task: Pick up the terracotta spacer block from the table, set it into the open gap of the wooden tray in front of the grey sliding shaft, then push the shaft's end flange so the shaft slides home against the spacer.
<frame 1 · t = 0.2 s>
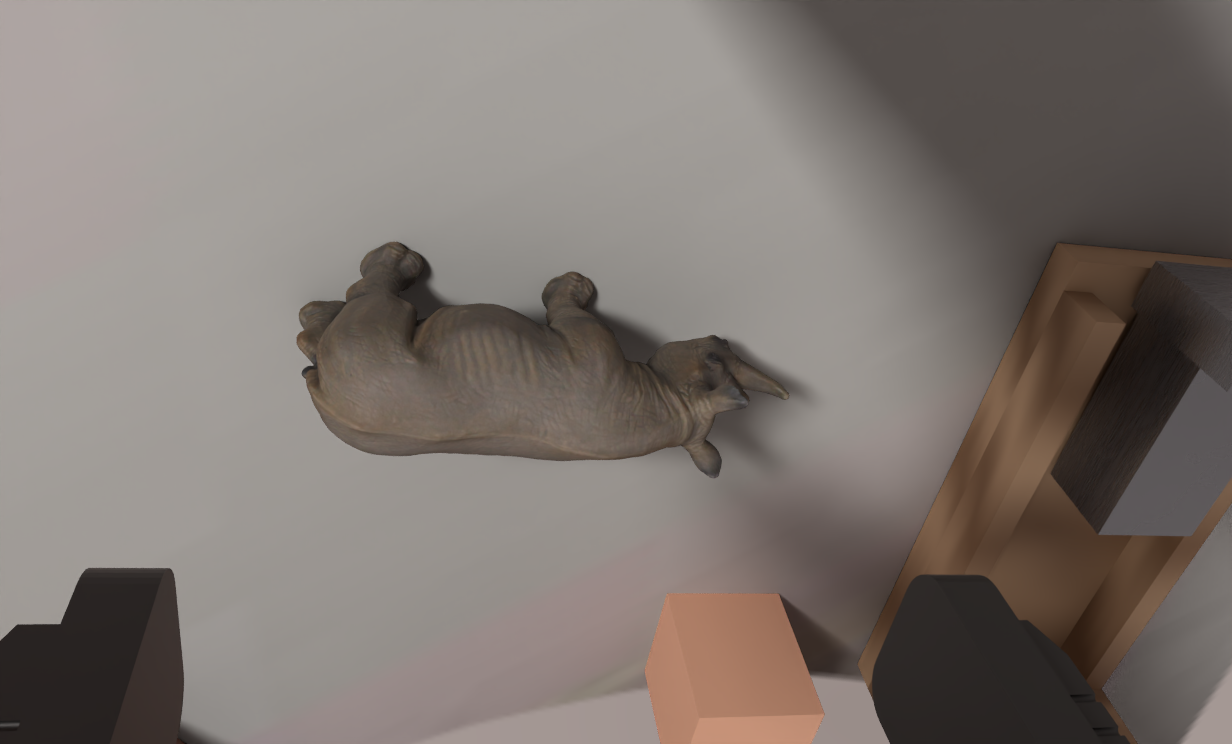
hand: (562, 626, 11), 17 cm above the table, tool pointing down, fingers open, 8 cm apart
spacer: (710, 632, 38), on the table
wooden tray: (1049, 489, 37), on the table
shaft: (1194, 420, 30), point 4 cm above the table, slide at 0.0 cm
rhino figurine: (542, 315, 29), on the table
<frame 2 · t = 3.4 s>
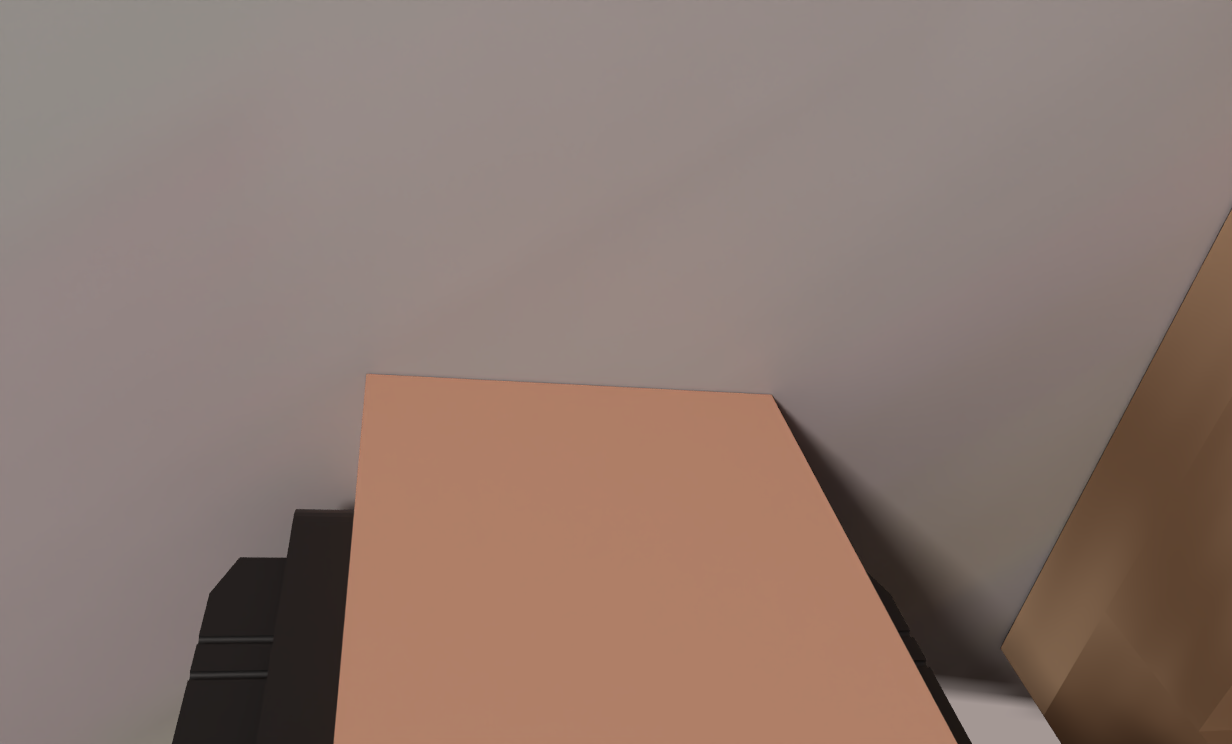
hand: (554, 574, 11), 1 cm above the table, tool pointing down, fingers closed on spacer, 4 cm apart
spacer: (551, 539, 12), on the table, touching gripper
when the fingers open (4 cm above the table, at t = 7.7 s): spacer drops 2 cm, resting on wooden tray.
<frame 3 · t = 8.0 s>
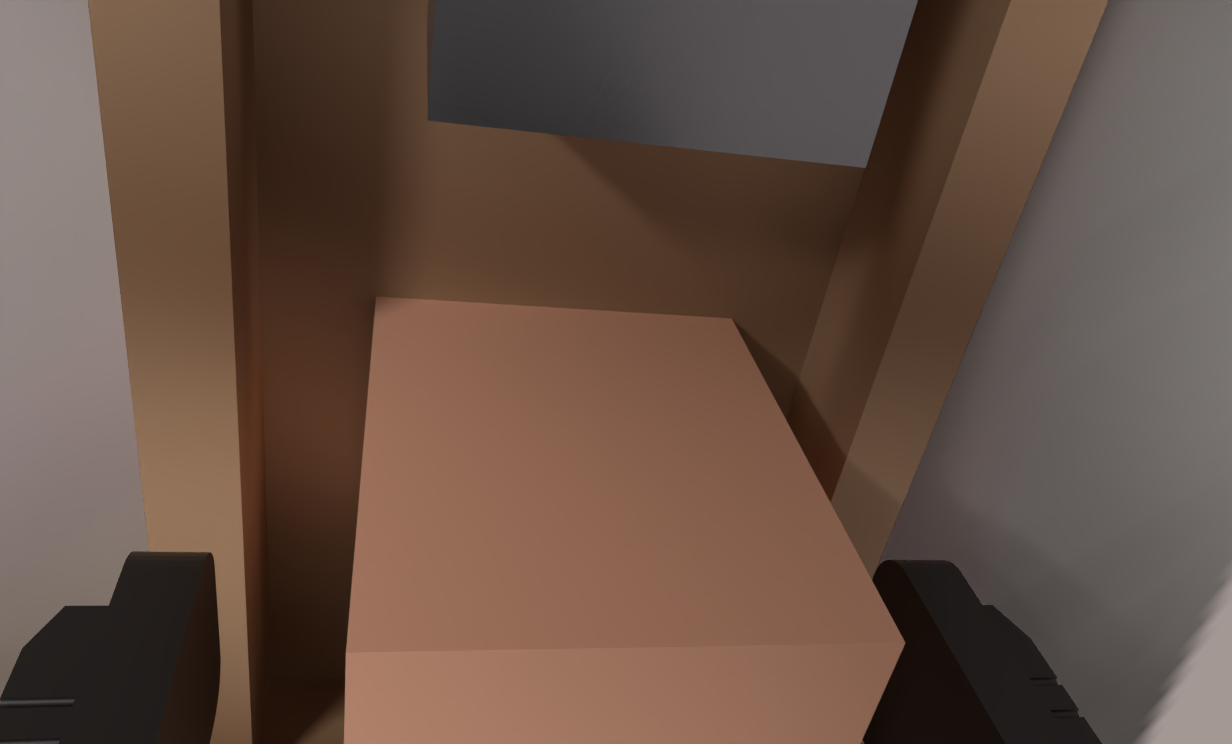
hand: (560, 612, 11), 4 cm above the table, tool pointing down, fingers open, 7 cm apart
spacer: (539, 451, 13), point 1 cm above the table, touching wooden tray
wooden tray: (558, 174, 12), on the table
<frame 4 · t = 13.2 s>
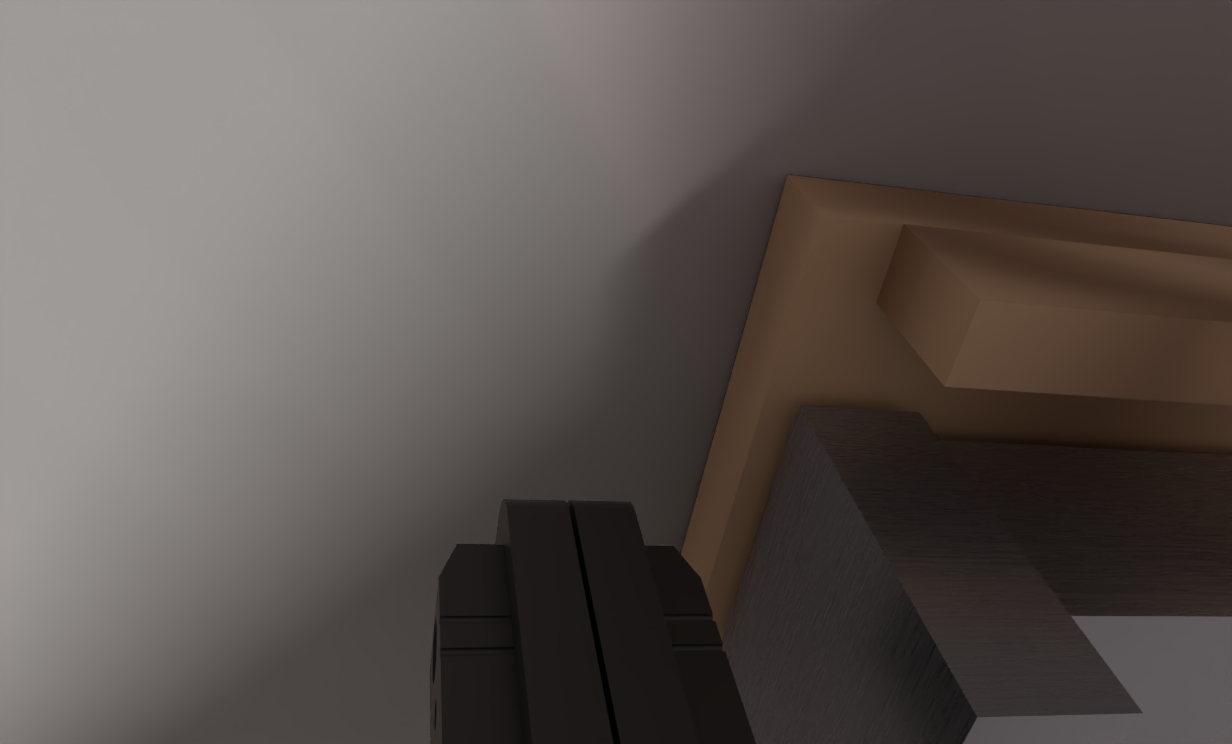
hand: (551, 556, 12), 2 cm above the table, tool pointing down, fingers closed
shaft: (1128, 676, 12), point 4 cm above the table, slide at 0.7 cm, touching gripper
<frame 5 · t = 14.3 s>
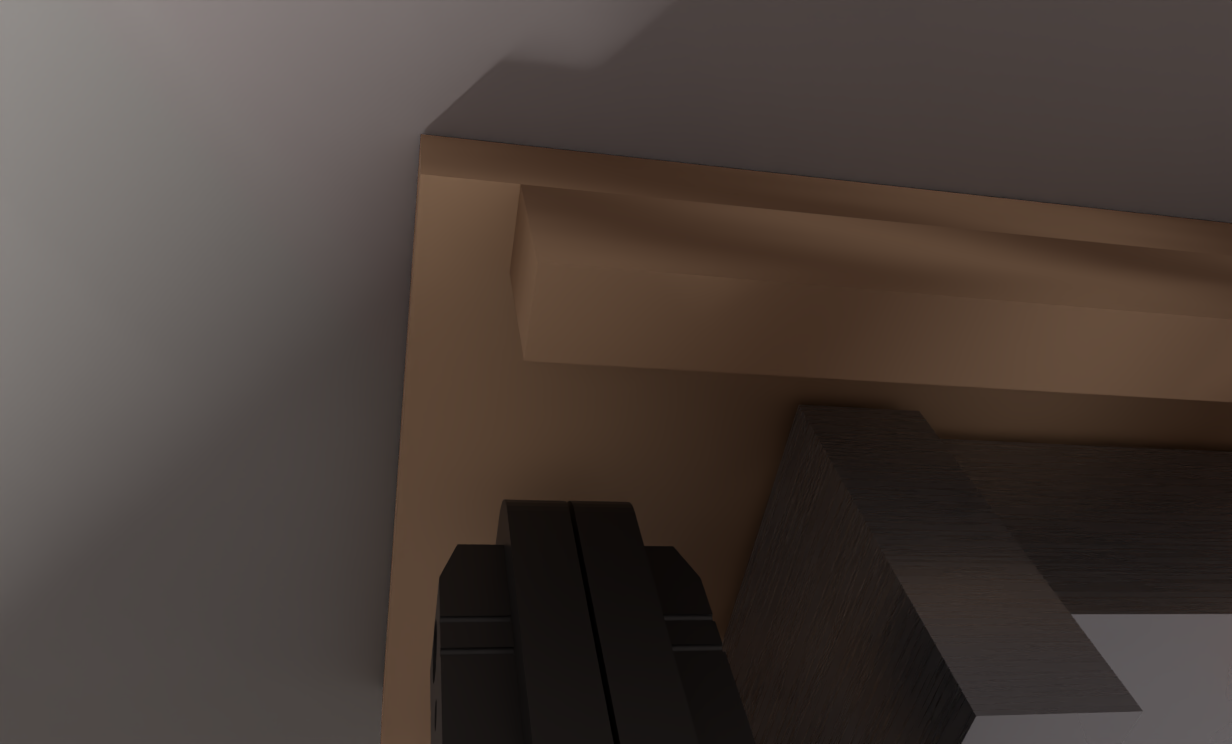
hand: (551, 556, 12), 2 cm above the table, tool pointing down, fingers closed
wooden tray: (1051, 483, 15), on the table
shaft: (1130, 674, 12), point 4 cm above the table, slide at 5.0 cm, touching gripper, spacer
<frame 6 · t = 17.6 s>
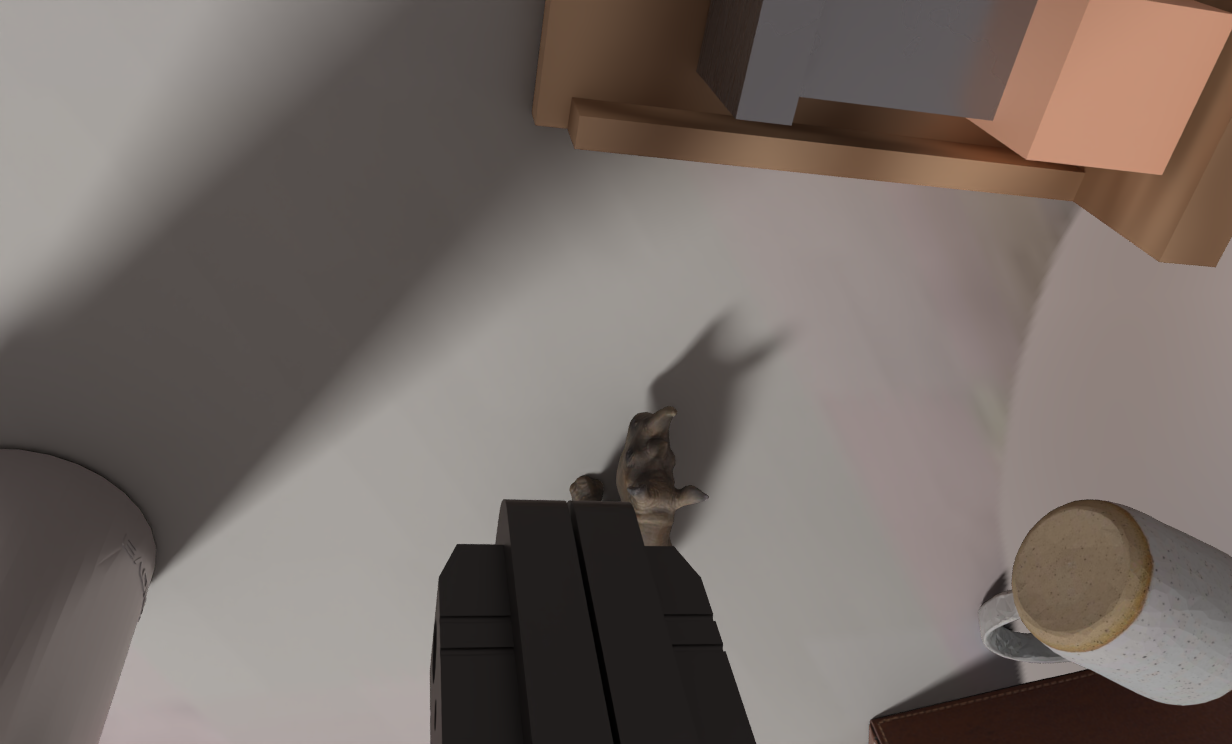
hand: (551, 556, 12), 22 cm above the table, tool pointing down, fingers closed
spacer: (1026, 38, 31), point 1 cm above the table, touching wooden tray, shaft
wooden tray: (860, 9, 31), on the table
letter holder: (1031, 727, 55), on the table
ceramic mug: (1063, 559, 48), on the table
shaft: (872, 34, 28), point 4 cm above the table, slide at 5.0 cm, touching spacer
rhino figurine: (604, 498, 41), on the table
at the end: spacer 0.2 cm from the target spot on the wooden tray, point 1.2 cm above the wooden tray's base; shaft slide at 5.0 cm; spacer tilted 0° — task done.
